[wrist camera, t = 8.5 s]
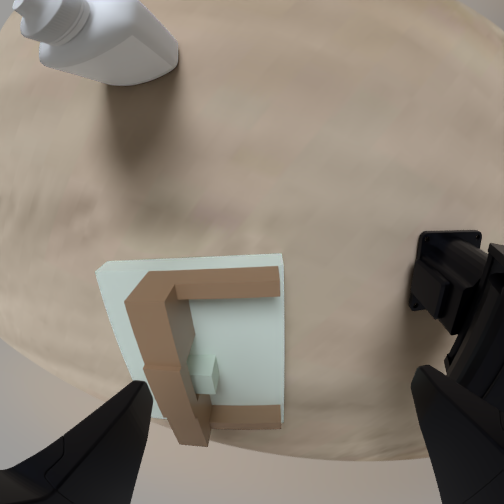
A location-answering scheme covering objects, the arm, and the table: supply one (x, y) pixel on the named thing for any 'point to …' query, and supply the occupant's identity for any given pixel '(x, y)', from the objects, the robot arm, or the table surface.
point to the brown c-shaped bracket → (180, 341)
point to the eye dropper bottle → (99, 39)
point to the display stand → (211, 332)
